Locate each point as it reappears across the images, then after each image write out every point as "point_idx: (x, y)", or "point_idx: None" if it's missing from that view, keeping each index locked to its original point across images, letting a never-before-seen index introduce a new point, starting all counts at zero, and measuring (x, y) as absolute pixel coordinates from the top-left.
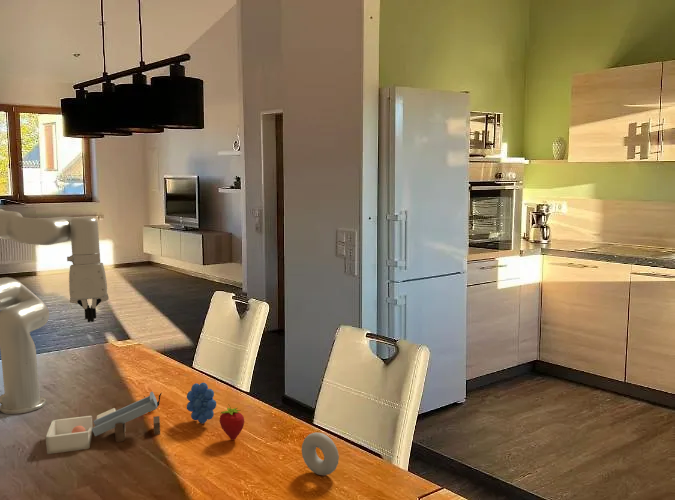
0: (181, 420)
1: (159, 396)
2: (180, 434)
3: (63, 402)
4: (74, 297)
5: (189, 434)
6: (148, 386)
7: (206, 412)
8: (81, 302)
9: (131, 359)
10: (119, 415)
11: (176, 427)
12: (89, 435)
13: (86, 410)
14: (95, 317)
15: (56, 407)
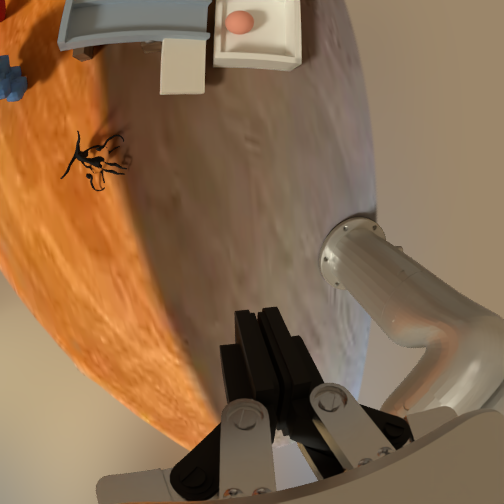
0: (44, 92)
1: (67, 168)
2: (56, 30)
3: (287, 258)
4: (485, 423)
5: (44, 30)
6: (125, 307)
7: (1, 56)
8: (375, 434)
9: (192, 421)
10: (149, 29)
11: (56, 59)
12: (217, 20)
13: (236, 195)
14: (222, 345)
15: (298, 233)
